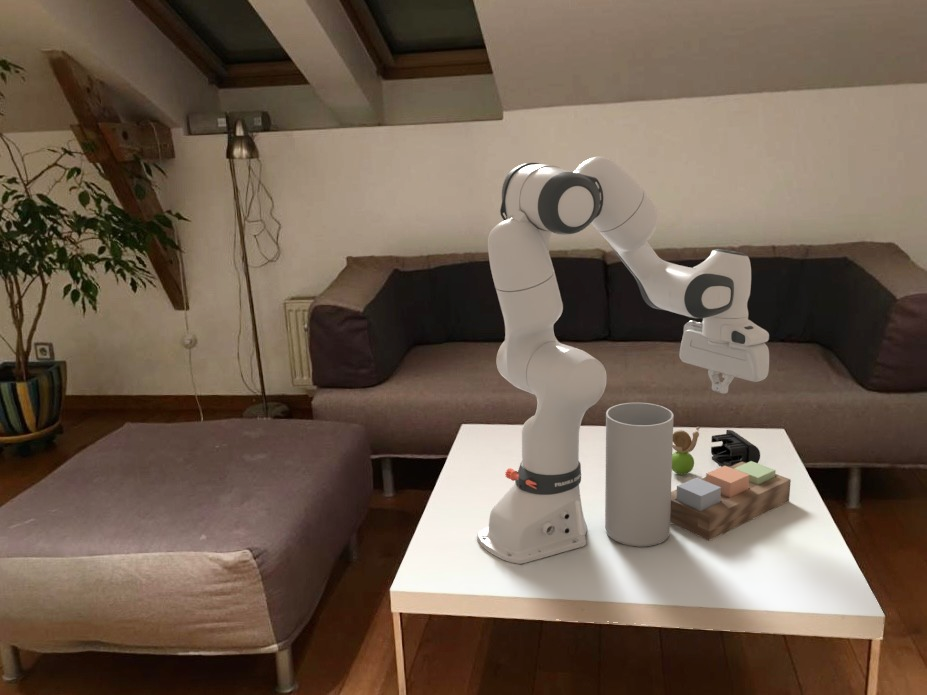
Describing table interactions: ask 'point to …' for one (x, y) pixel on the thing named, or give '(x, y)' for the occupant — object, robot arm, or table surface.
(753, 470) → the sage key
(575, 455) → the robot arm
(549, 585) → the table surface
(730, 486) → the terracotta key
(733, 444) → the end cap
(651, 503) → the cylinder vase
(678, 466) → the snail figurine
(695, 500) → the slate key
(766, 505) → the key panel
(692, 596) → the table surface
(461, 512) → the table surface
